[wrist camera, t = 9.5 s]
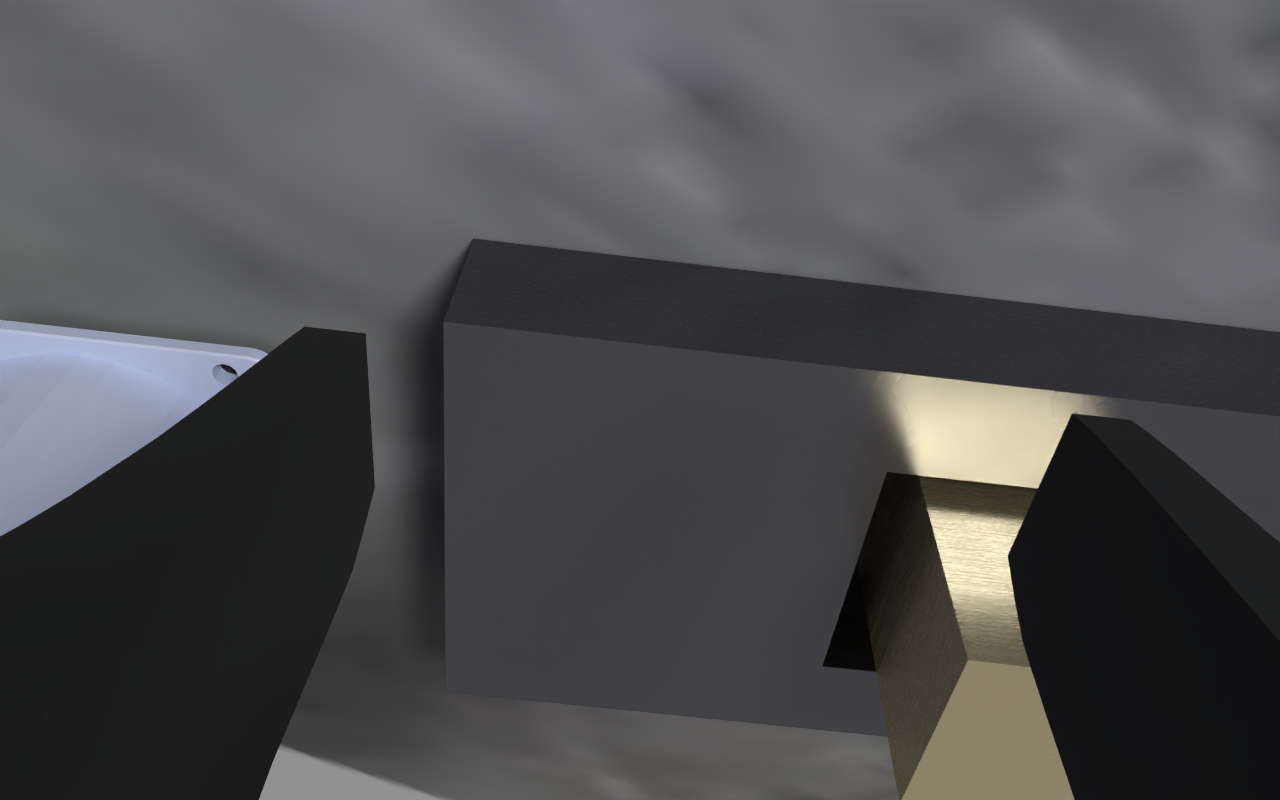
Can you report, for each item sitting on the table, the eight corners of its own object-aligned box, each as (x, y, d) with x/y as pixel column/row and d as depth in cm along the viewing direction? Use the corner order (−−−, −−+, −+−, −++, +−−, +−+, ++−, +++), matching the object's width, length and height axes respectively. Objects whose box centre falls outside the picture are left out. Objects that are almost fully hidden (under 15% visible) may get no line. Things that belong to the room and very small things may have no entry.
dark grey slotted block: (468, 593, 26) (445, 691, 24) (473, 238, 20) (443, 321, 18) (1320, 682, 27) (1383, 787, 24) (1570, 366, 21) (1687, 462, 18)
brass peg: (851, 533, 24) (899, 803, 19) (896, 396, 22) (967, 660, 16) (1018, 552, 24) (1116, 826, 19) (1081, 419, 22) (1215, 688, 16)
